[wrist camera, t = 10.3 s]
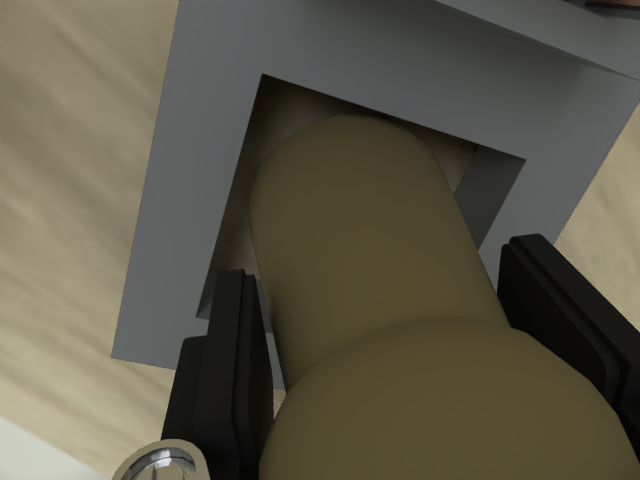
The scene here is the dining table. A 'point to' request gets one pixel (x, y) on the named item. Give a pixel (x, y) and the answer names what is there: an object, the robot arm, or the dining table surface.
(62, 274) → the dining table surface
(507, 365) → the brown pawn
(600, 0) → the salmon square block
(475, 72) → the frame
